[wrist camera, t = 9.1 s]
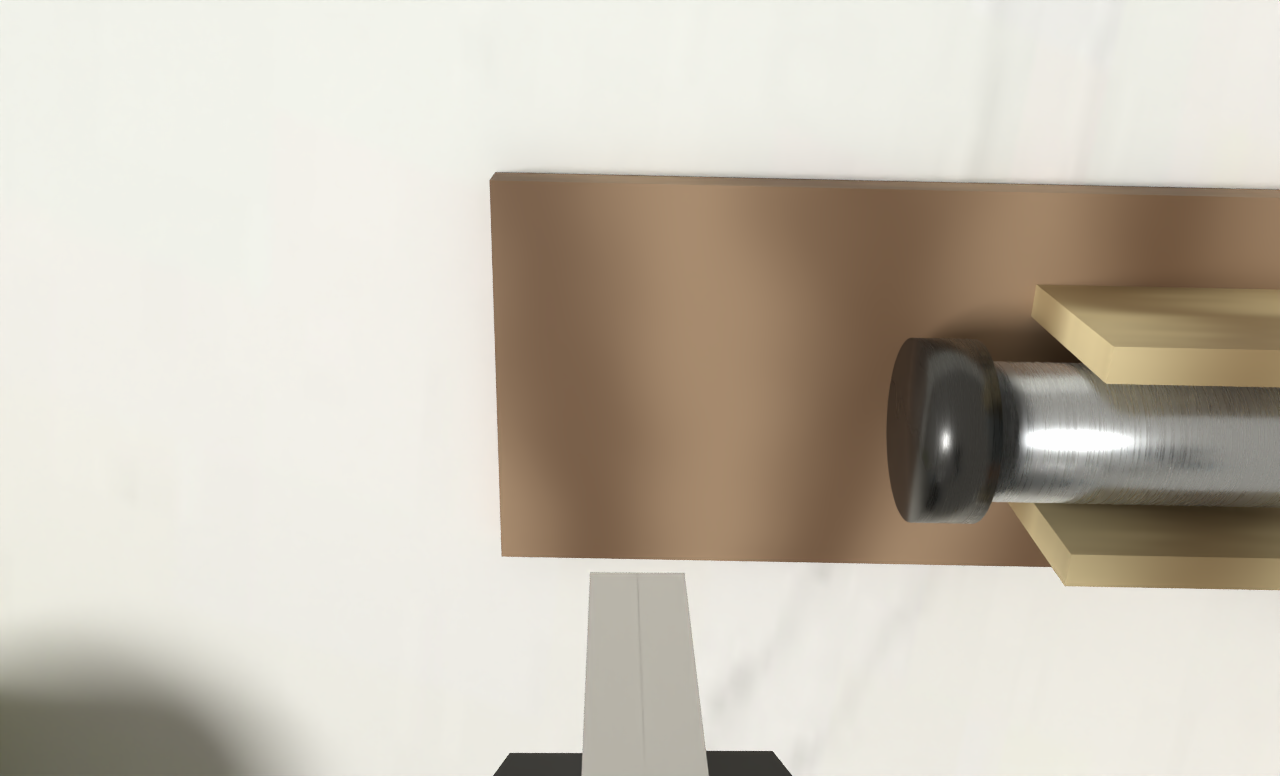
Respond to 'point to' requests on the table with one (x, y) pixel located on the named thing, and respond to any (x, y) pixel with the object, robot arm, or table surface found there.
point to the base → (852, 360)
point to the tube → (1067, 437)
